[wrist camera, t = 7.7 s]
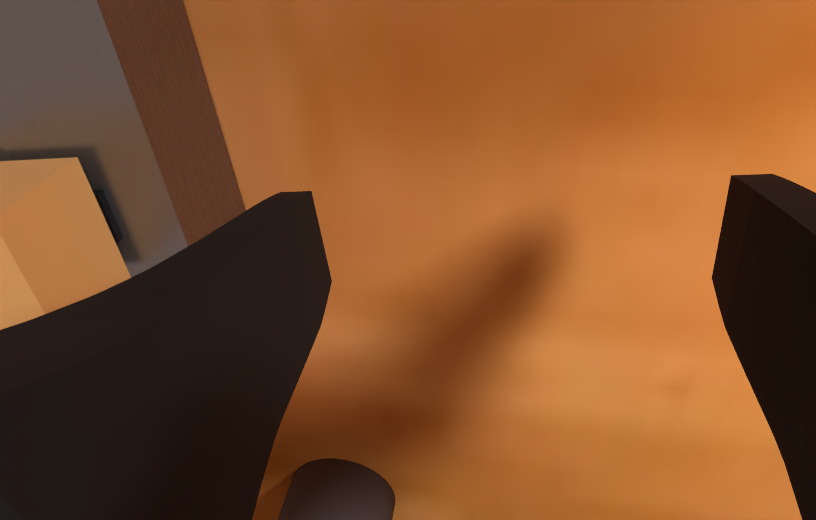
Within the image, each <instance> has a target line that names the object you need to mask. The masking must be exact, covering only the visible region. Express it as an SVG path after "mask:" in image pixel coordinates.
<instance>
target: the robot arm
mask: <svg viewBox="0 0 816 520" xmlns="http://www.w3.org/2000/svg"><path fill="white" fill-rule="evenodd" d="M712 280H713V284H714V288H715V292H716V296H717V300H718V304H719V308H720V311H721V315H722V318H723V322H724V325H725V328H726V330H727V333H728V335H729V337H730V340H731V342H732V344H733V346H734V349H735V351H736V353H737V356H738V358H739V360H740V362H741V365H742V367H743V369H744V371H745V373H746V376H747V378H748V380H749V382H750V384H751V387H752V389H753V391H754V393H755V395H756V398H757V400H758V402H759V404H760V406H761V409H762V411H763V413H764V415H765V417H766V420H767V422H768V424H769V426H770V429H771V431H772V433H773V435H774V437H775V440H776V443H777V445H778V448H779V450H780V453H781V455H782V458H783V460H784V463H785V466H786V469H787V472H788V475H789V478H790V482H791V485H792V488H793V491H794V494H795V497H796V501H797V504H798V507H799V510H800V513H801V516H802V520H816V193H815V192H813V191H811V190H809V189H807V188H804V187H802V186H800V185H798V184H796V183H794V182H792V181H789V180H787V179H785V178H782V177H780V176H777V175H774V174H759V175H732V176H731V180H730V185H729V190H728V195H727V201H726V206H725V211H724V217H723V222H722V227H721V232H720V238H719V243H718V248H717V253H716V259H715V264H714V269H713V275H712ZM331 282H332V280H331V276H330V271H329V267H328V263H327V258H326V254H325V249H324V245H323V241H322V236H321V232H320V227H319V223H318V219H317V214H316V210H315V205H314V201H313V197H312V192H311V191H302V192H280V193H278V194H275V195H273V196H271V197H269V198H267V199H265V200H263V201H262V202H260V203H258V204H257V205H255V206H253V207H252V208H250V209H248V210H247V211H245V212H243V213H242V214H240V215H239V216H237V217H235V218H234V219H232V220H231V221H229V222H227V223H226V224H224V225H223V226H221V227H219V228H218V229H216V230H215V231H213V232H211V233H210V234H208V235H207V236H205V237H203V238H202V239H200V240H198V241H197V242H195V243H193V244H191V245H190V246H188V247H186V248H184V249H183V250H181V251H179V252H178V253H176V254H174V255H172V256H171V257H169V258H167V259H165V260H164V261H162V262H160V263H158V264H157V265H155V266H153V267H151V268H149V269H147V270H145V271H144V272H142V273H140V274H138V275H136V276H134V277H132V278H130V279H128V280H125V281H123V282H121V283H119V284H117V285H115V286H113V287H110V288H108V289H106V290H104V291H102V292H100V293H97V294H95V295H93V296H90V297H88V298H85V299H83V300H80V301H78V302H75V303H73V304H70V305H67V306H65V307H62V308H60V309H57V310H55V311H52V312H50V313H47V314H44V315H42V316H39V317H37V318H34V319H31V320H28V321H26V322H23V323H20V324H17V325H14V326H11V327H8V328H5V329H2V330H0V520H252V517H253V514H254V510H255V506H256V502H257V498H258V494H259V491H260V487H261V484H262V480H263V477H264V473H265V470H266V466H267V463H268V459H269V456H270V453H271V449H272V446H273V442H274V439H275V437H276V434H277V431H278V428H279V426H280V423H281V420H282V418H283V415H284V413H285V411H286V408H287V406H288V403H289V401H290V399H291V396H292V394H293V392H294V389H295V387H296V384H297V382H298V380H299V377H300V375H301V373H302V370H303V368H304V365H305V363H306V361H307V358H308V356H309V353H310V351H311V349H312V346H313V344H314V341H315V339H316V336H317V334H318V331H319V329H320V326H321V323H322V319H323V316H324V312H325V308H326V304H327V300H328V295H329V291H330V286H331Z"/></svg>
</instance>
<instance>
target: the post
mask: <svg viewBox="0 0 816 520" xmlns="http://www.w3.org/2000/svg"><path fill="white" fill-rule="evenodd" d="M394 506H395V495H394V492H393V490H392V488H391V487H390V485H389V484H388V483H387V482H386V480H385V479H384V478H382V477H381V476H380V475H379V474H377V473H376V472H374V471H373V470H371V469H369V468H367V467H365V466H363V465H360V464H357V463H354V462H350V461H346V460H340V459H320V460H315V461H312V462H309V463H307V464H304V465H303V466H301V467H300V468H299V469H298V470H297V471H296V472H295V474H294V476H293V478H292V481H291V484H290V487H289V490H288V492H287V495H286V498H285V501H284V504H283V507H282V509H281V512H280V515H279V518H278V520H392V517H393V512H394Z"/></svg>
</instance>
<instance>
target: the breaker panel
mask: <svg viewBox="0 0 816 520" xmlns="http://www.w3.org/2000/svg"><path fill="white" fill-rule="evenodd" d="M73 157H78V160H79V162H80V164H81V166H82V169H83V171H84V173H85V175H86V177H87V180H88V182H89V184H90V186H91V189H92V191H93V193H94V195H95V198H96V200H97V202H98V204H99V207H100V209H101V211H102V213H103V216H104V218H105V220H106V222H107V224H108V227H109V229H110V231H111V233H112V236H113V238H114V240H115V242H116V245H117V247H118V249H119V251H120V254H121V256H122V258H123V260H124V263H125V265H126V267H127V269H128V271H129V274H130V276H131V278H132V277H134V276H136V275H138V274H140V273H142V272H144V271H145V270H147V269H149V268H151V267H153V266H155V265H157V264H158V263H160V262H162V261H164V260H165V259H167V258H169V257H171V256H172V255H174V254H176V253H178V252H179V251H181V250H183V249H184V248H186V247H188V246H190V245H191V244H193V243H195V242H197V241H198V240H200V239H202V238H203V237H205V236H207V235H208V234H210V233H211V232H213V231H215V230H216V229H218V228H219V227H221V226H223V225H224V224H226V223H227V222H229V221H231V220H232V219H234V218H235V217H237V216H239V215H240V214H242V213H243V212H245V211H246V210H245V207H244V204H243V200H242V197H241V194H240V190H239V187H238V184H237V180H236V177H235V174H234V170H233V167H232V164H231V160H230V157H229V154H228V150H227V147H226V144H225V140H224V137H223V133H222V130H221V127H220V123H219V120H218V117H217V113H216V110H215V107H214V103H213V100H212V97H211V93H210V90H209V87H208V83H207V80H206V77H205V73H204V70H203V67H202V63H201V60H200V57H199V53H198V50H197V47H196V43H195V40H194V37H193V33H192V30H191V27H190V23H189V20H188V17H187V13H186V10H185V7H184V3H183V0H0V161H15V160H34V159H53V158H73Z"/></svg>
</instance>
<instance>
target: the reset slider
mask: <svg viewBox="0 0 816 520" xmlns="http://www.w3.org/2000/svg"><path fill="white" fill-rule="evenodd" d="M130 278H131V276H130V274H129V271H128V269H127V267H126V265H125V263H124V260H123V258H122V256H121V254H120V251H119V249H118V247H117V245H116V242H115V240H114V238H113V236H112V233H111V231H110V229H109V227H108V224H107V222H106V220H105V218H104V216H103V213H102V211H101V209H100V207H99V204H98V202H97V200H96V198H95V195H94V193H93V191H92V189H91V186H90V184H89V182H88V180H87V177H86V175H85V173H84V171H83V169H82V166H81V164H80V162H79V160H78V157H73V158H53V159H34V160H15V161H0V330H2V329H5V328H8V327H11V326H14V325H17V324H20V323H23V322H26V321H28V320H31V319H34V318H37V317H39V316H42V315H44V314H47V313H50V312H52V311H55V310H57V309H60V308H62V307H65V306H67V305H70V304H73V303H75V302H78V301H80V300H83V299H85V298H88V297H90V296H93V295H95V294H97V293H100V292H102V291H104V290H106V289H108V288H110V287H113V286H115V285H117V284H119V283H121V282H123V281H125V280H128V279H130Z"/></svg>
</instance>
